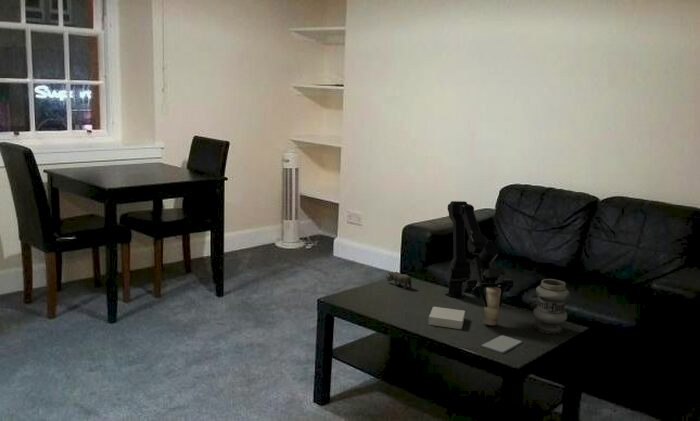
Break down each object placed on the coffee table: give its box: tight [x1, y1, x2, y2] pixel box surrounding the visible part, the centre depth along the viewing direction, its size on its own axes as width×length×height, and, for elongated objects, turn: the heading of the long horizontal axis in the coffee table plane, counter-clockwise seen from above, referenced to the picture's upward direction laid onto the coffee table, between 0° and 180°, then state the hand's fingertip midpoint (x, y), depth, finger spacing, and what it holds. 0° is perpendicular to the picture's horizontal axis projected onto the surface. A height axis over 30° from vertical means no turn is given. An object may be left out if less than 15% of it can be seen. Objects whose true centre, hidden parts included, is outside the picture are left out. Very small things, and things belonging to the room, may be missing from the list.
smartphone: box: [480, 334, 523, 355], centre depth 229 cm, size 8×1×15 cm
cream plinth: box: [427, 306, 466, 330], centre depth 248 cm, size 12×12×3 cm
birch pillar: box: [482, 287, 501, 326], centre depth 246 cm, size 5×5×13 cm
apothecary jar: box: [532, 278, 570, 334], centre depth 245 cm, size 12×12×18 cm
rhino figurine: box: [385, 271, 413, 290], centre depth 288 cm, size 4×14×6 cm, turn 47°
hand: (493, 306), depth 244 cm, fingers closed on birch pillar, 5 cm apart
